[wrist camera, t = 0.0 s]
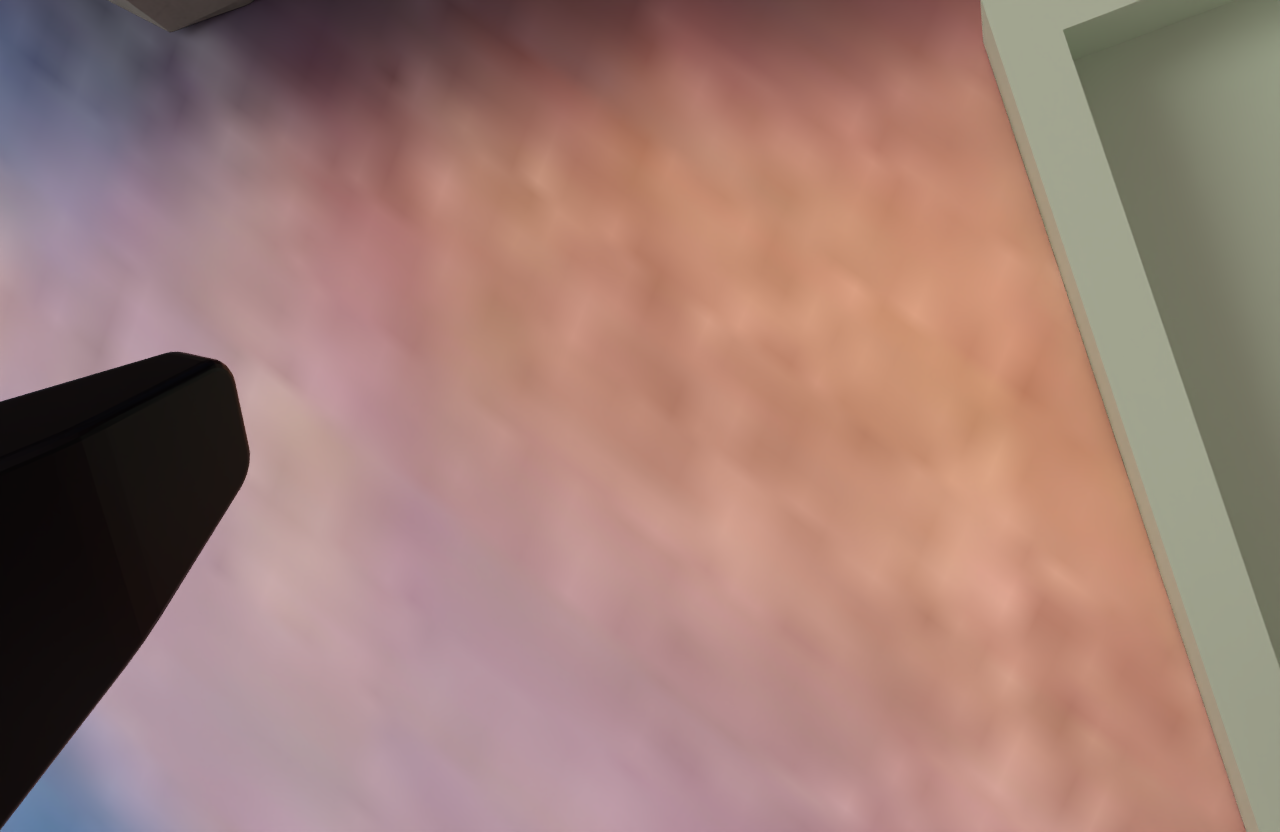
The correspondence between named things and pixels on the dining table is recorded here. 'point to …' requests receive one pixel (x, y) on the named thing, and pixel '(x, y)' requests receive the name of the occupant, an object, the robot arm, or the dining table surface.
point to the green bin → (1175, 304)
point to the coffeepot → (178, 10)
